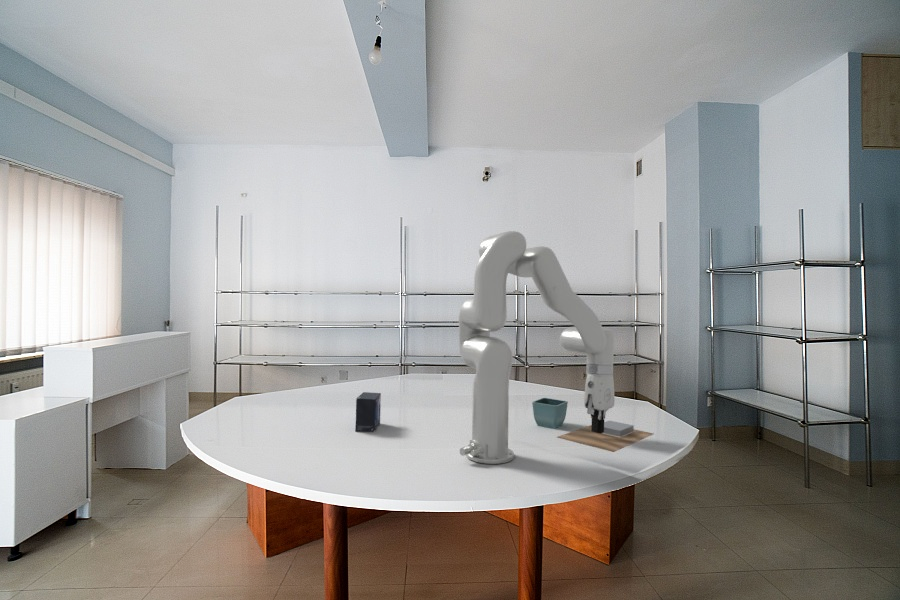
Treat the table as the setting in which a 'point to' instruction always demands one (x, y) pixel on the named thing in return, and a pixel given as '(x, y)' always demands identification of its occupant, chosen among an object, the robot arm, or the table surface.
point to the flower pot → (549, 412)
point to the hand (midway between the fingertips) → (597, 432)
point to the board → (604, 438)
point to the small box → (368, 411)
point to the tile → (617, 428)
